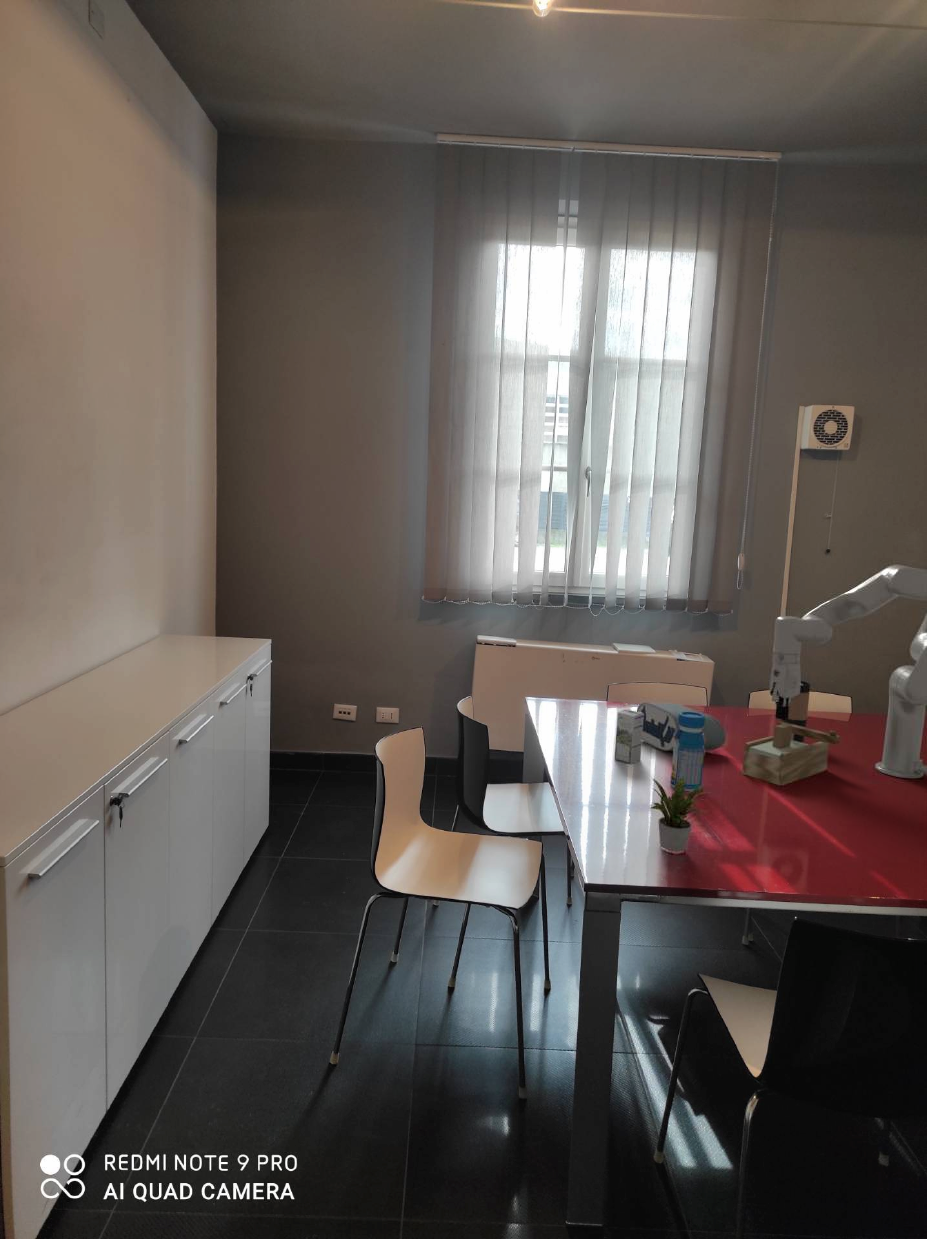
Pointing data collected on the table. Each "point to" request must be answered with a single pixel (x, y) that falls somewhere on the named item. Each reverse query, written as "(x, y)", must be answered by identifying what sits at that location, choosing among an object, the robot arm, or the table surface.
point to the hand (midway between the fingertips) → (781, 718)
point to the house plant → (676, 816)
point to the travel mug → (799, 709)
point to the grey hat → (675, 726)
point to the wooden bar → (814, 733)
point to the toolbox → (785, 762)
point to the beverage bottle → (689, 750)
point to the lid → (778, 743)
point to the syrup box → (629, 736)
